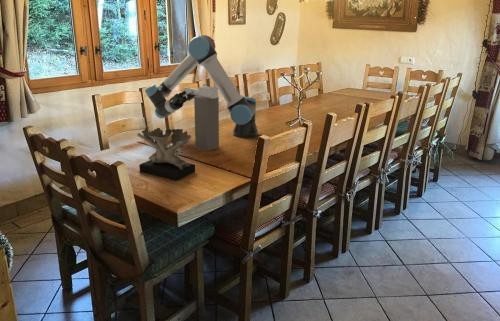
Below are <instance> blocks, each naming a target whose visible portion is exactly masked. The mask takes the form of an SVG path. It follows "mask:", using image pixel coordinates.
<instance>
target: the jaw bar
mask: <svg viewBox="0 0 500 321" xmlns="http://www.w3.org/2000/svg"><path fill="white" fill-rule="evenodd" d="M201 86H202V87H201ZM201 86H199V87H198V88H199V89H198V88H195V87H190V89H191V93H189V94H191V95H196V96H199V97H204V98H209V99H214V98H218V97H219V90H218V88H217V87H214V86H210V85H209V86H208V85H205V86H203V85H201ZM188 87H189V86H186V87H183V91H184V90H185V89H187V88H188Z"/></svg>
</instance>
